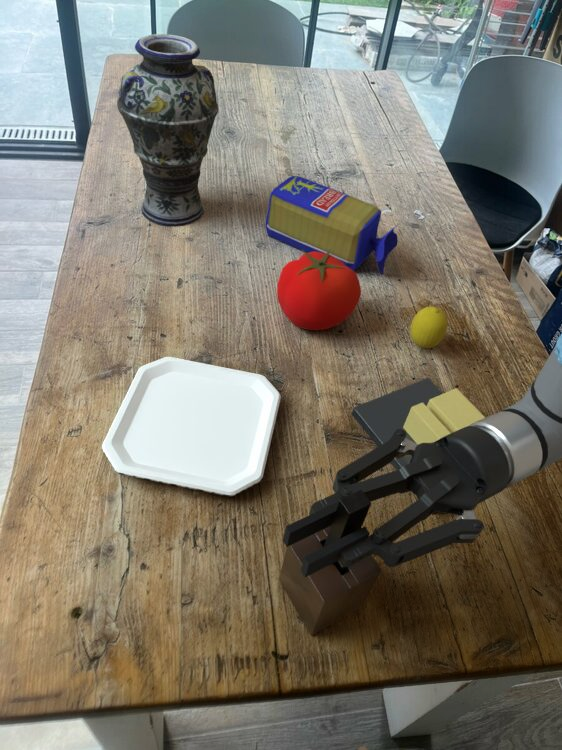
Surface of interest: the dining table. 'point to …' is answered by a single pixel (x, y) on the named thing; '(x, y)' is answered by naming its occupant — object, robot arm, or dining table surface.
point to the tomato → (317, 291)
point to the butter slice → (424, 425)
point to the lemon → (428, 327)
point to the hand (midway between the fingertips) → (295, 551)
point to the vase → (169, 125)
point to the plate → (194, 426)
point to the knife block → (325, 584)
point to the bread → (327, 223)
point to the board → (393, 413)
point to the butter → (454, 410)
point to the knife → (348, 519)
